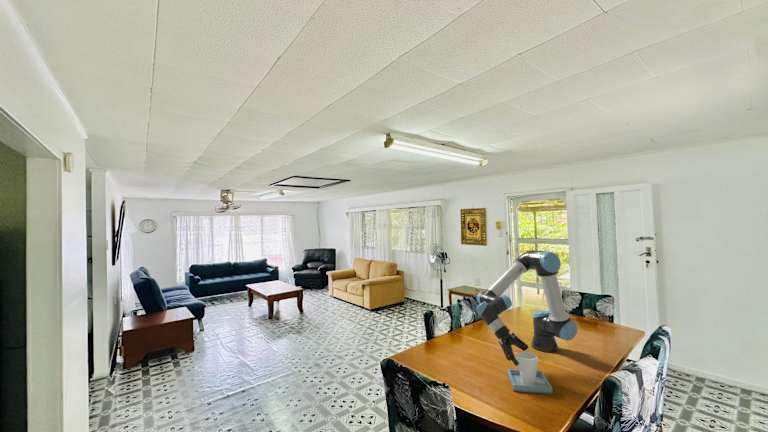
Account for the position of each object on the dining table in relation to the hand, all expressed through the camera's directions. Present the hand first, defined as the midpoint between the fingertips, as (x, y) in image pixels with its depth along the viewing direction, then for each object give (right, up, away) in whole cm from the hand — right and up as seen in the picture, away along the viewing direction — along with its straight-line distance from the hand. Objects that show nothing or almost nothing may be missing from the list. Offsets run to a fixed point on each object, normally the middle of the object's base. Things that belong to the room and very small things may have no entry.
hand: (529, 366), depth 154 cm
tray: (0, -9, 0) cm, 9 cm away
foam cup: (0, -8, 0) cm, 8 cm away
